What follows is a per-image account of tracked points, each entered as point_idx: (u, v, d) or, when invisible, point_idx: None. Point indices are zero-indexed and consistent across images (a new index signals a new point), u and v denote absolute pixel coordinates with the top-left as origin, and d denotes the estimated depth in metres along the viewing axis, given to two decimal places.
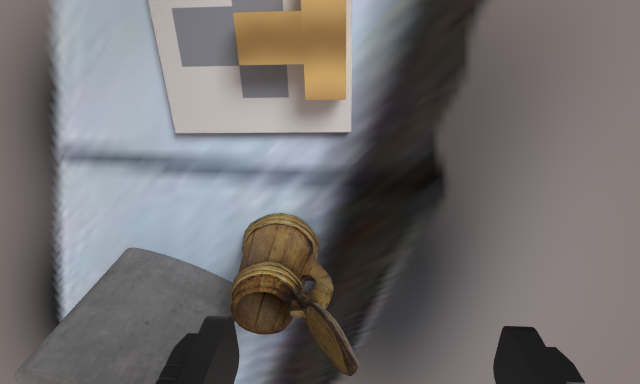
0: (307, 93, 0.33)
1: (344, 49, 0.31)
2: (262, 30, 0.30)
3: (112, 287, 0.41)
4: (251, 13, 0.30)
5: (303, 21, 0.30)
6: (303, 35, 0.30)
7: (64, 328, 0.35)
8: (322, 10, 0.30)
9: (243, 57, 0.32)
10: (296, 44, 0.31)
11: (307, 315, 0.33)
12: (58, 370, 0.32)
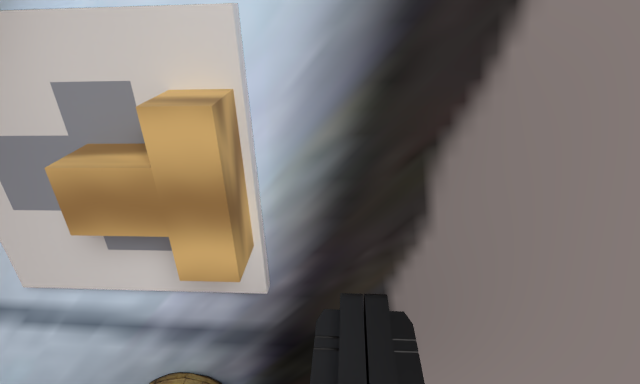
0: (181, 272, 0.21)
1: (227, 220, 0.19)
2: (96, 191, 0.19)
3: None
4: (74, 169, 0.19)
5: (157, 182, 0.19)
6: (160, 200, 0.19)
7: None
8: (184, 169, 0.18)
9: (74, 225, 0.20)
10: (152, 211, 0.19)
11: None
12: None
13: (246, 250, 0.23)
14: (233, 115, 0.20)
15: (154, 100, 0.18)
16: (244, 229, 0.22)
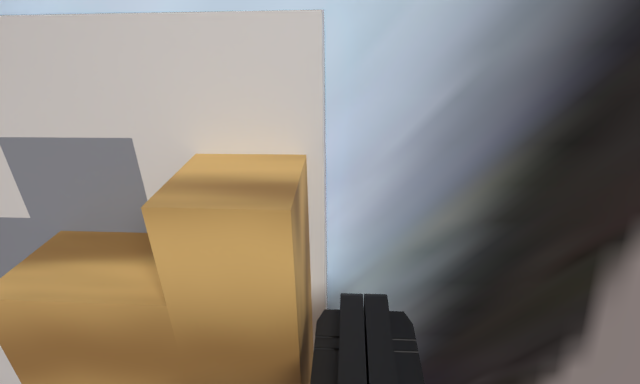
0: None
1: None
2: (67, 336, 0.11)
3: None
4: (27, 303, 0.10)
5: (176, 327, 0.10)
6: (181, 353, 0.11)
7: None
8: (227, 309, 0.10)
9: (32, 381, 0.12)
10: (166, 368, 0.11)
11: None
12: None
13: None
14: (305, 199, 0.12)
15: (175, 186, 0.10)
16: (309, 368, 0.14)
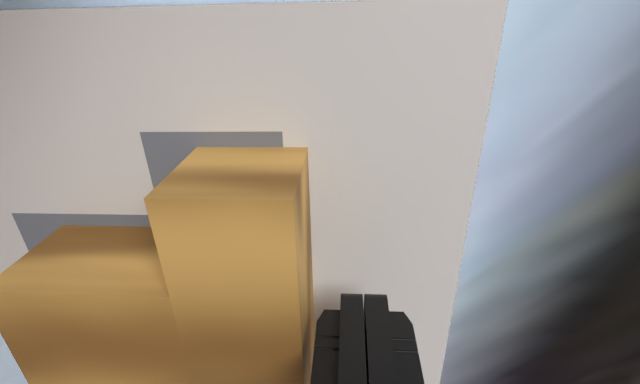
0: None
1: (300, 376, 0.11)
2: (71, 328, 0.11)
3: None
4: (30, 296, 0.10)
5: (179, 318, 0.10)
6: (184, 345, 0.11)
7: None
8: (230, 300, 0.10)
9: (36, 374, 0.12)
10: (169, 360, 0.11)
11: None
12: None
13: None
14: (307, 191, 0.12)
15: (177, 178, 0.10)
16: (311, 361, 0.14)
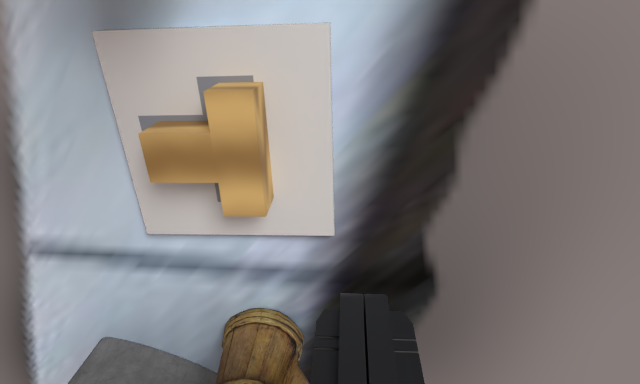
0: (225, 210, 0.30)
1: (259, 170, 0.29)
2: (171, 150, 0.28)
3: None
4: (158, 135, 0.28)
5: (213, 143, 0.28)
6: (214, 156, 0.28)
7: None
8: (232, 133, 0.28)
9: (154, 175, 0.29)
10: (208, 164, 0.29)
11: None
12: None
13: (269, 197, 0.32)
14: (263, 99, 0.29)
15: (213, 88, 0.27)
16: (268, 181, 0.31)
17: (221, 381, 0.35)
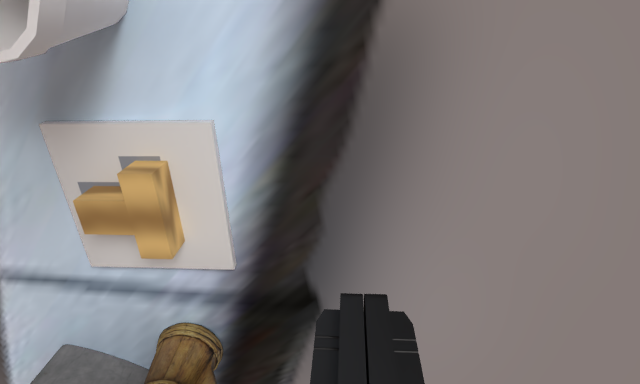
0: (141, 254, 0.41)
1: (163, 227, 0.39)
2: (97, 212, 0.39)
3: None
4: (87, 201, 0.38)
5: (127, 208, 0.38)
6: (129, 217, 0.39)
7: None
8: (140, 202, 0.38)
9: (86, 229, 0.40)
10: (126, 222, 0.39)
11: None
12: None
13: (178, 243, 0.42)
14: (167, 174, 0.39)
15: (126, 169, 0.37)
16: (176, 231, 0.41)
17: (146, 381, 0.45)
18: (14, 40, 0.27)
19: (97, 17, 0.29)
